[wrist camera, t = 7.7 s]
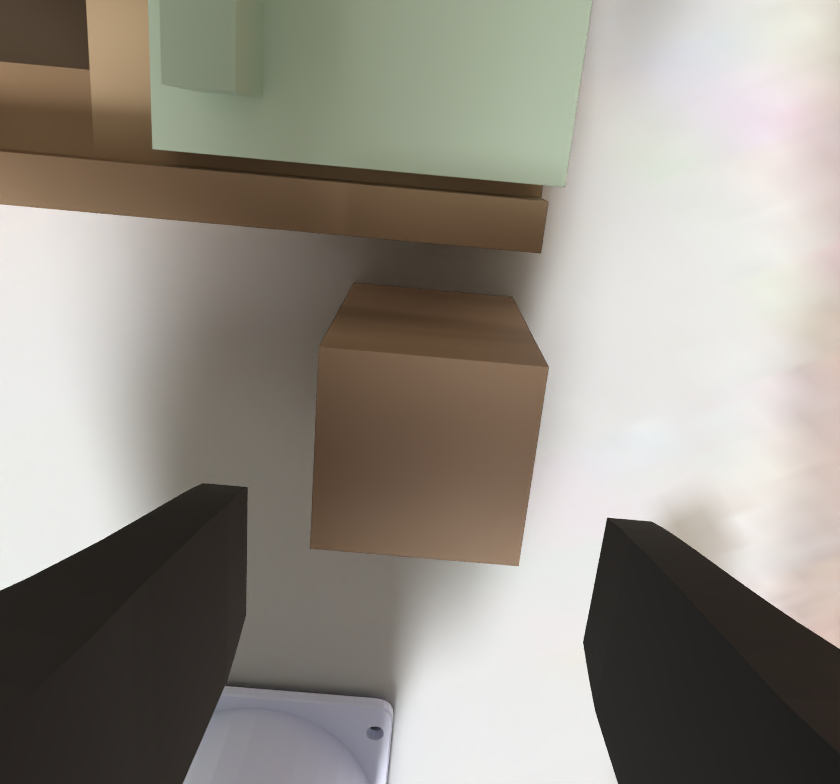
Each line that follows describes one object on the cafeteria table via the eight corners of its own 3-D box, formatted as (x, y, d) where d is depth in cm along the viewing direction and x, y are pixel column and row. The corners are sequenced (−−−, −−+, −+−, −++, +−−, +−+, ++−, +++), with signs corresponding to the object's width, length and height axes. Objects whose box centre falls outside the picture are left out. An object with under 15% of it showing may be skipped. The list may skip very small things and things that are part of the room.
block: (493, 443, 20) (518, 565, 14) (345, 430, 20) (309, 548, 14) (512, 297, 18) (548, 367, 13) (353, 282, 18) (318, 346, 13)
